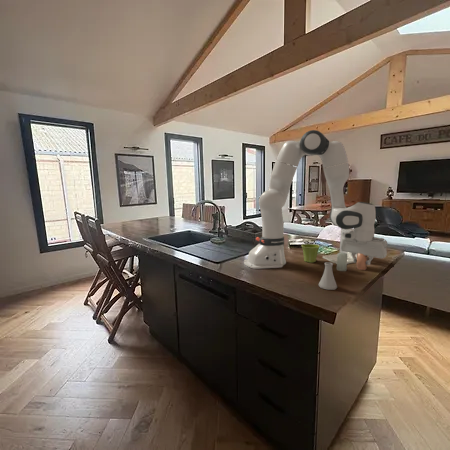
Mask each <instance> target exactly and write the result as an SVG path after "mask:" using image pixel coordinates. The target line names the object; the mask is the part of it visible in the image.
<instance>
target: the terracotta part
mask: <svg viewBox="0 0 450 450" xmlns="http://www.w3.org/2000/svg"><path fill="white" fill-rule="evenodd" d="M367 260H368V256H366V255H364V254H360V253H358V254H357V262H356V266H355V268H356V270H360V271H365V270H367V266H368V265H366V261H367Z"/></svg>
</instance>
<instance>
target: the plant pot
mask: <svg viewBox="0 0 450 450" xmlns="http://www.w3.org/2000/svg"><path fill="white" fill-rule="evenodd" d="M301 249H302V251H303V252H302V253H303V261H304V262H307V263H311V264H312V263H316V262H317V257H318V252H319V249H320V245H319V244H317V243H316V244H314V243H303V244H301Z"/></svg>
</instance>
